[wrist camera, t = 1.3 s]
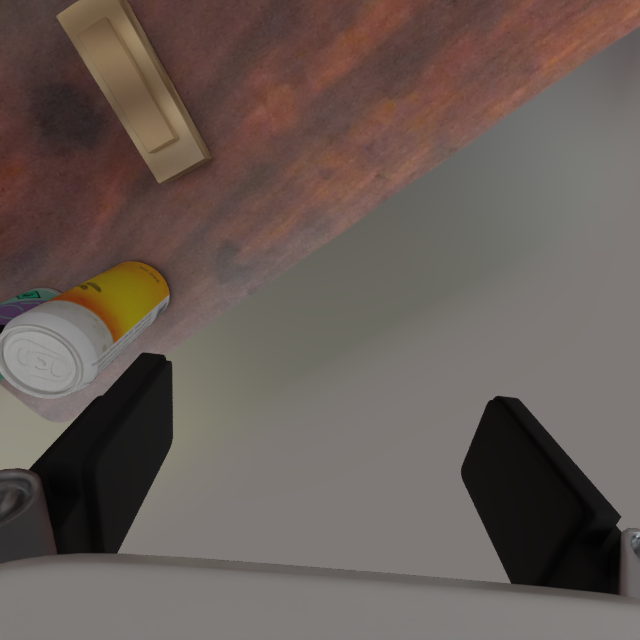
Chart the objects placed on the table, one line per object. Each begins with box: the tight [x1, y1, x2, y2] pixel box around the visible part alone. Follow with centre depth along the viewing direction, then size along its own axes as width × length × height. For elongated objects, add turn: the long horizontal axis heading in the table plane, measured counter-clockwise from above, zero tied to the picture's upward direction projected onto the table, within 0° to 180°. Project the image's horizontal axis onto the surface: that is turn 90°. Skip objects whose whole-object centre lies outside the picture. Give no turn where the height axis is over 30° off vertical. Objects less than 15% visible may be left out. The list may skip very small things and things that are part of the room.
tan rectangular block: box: [56, 0, 212, 184], centre depth 28 cm, size 12×4×5 cm, turn 25°
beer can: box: [0, 261, 169, 399], centre depth 30 cm, size 6×6×15 cm
